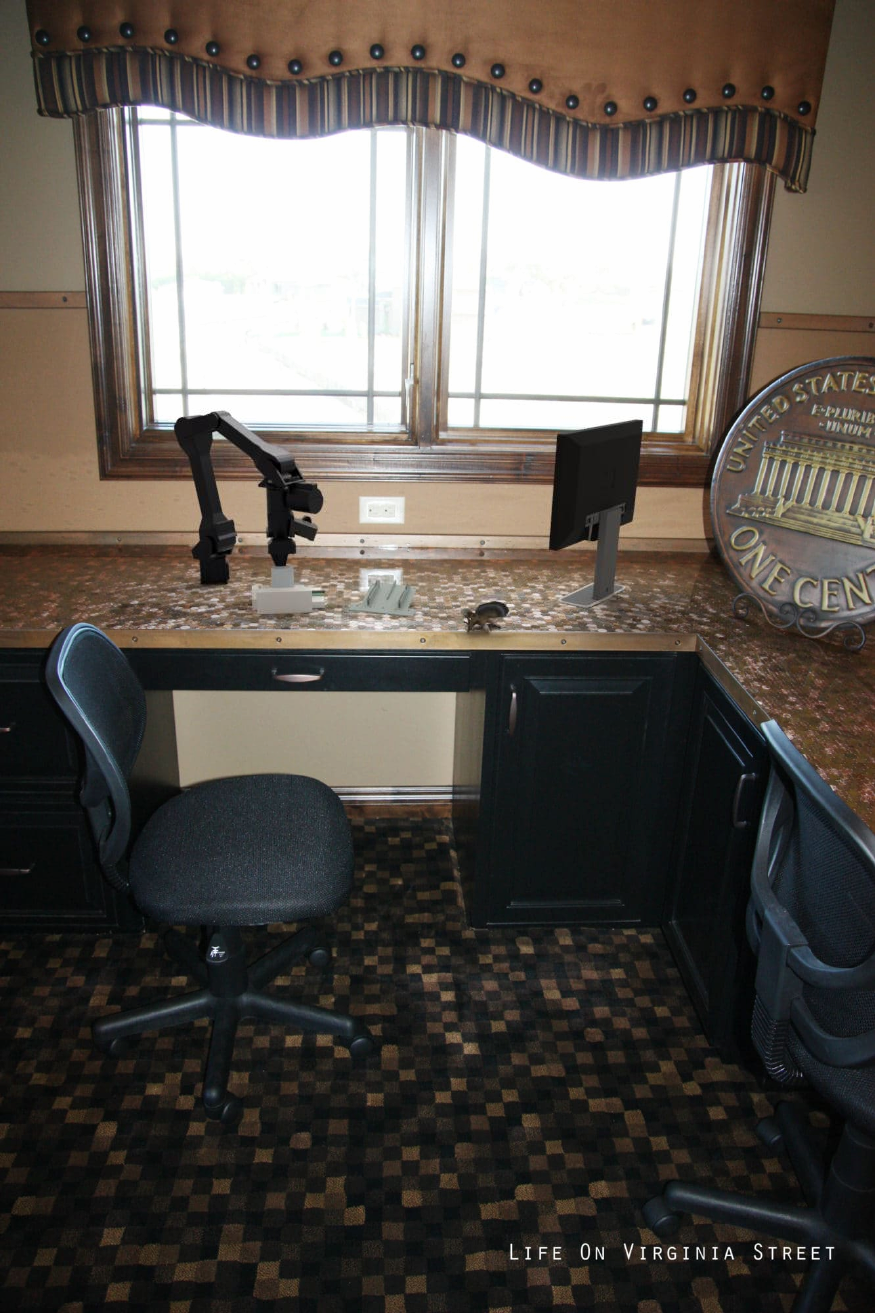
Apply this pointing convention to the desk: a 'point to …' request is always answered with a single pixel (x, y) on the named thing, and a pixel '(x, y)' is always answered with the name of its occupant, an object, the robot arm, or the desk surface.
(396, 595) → the metal bracket
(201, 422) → the robot arm
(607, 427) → the computer monitor
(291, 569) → the gauge plunger
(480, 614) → the animal figurine
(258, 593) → the gauge housing
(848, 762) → the desk surface
